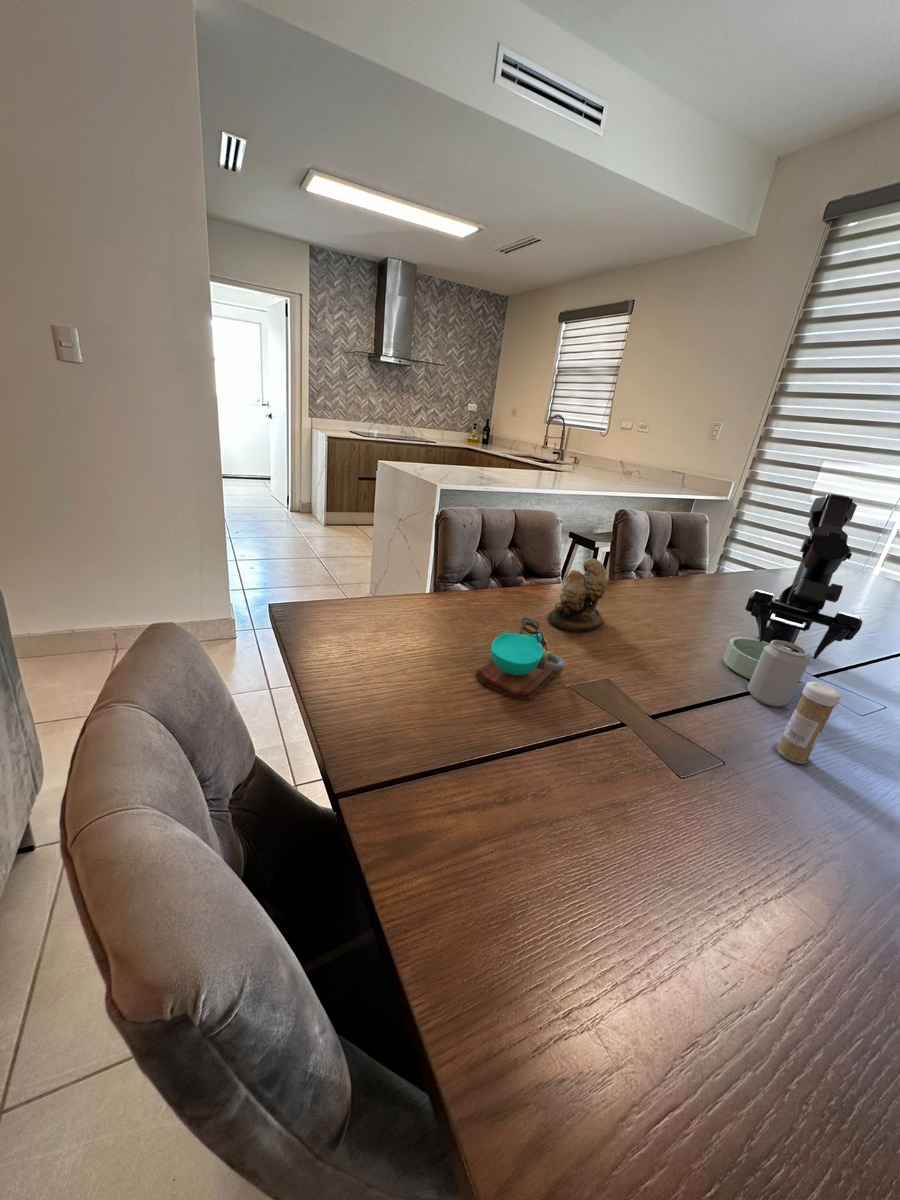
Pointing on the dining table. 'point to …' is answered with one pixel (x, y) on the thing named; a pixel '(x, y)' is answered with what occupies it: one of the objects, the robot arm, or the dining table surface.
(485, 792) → the dining table surface
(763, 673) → the can
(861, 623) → the robot arm
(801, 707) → the sprinkles bottle
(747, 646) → the basin
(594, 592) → the owl figurine
